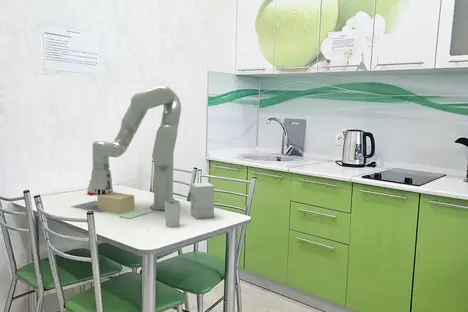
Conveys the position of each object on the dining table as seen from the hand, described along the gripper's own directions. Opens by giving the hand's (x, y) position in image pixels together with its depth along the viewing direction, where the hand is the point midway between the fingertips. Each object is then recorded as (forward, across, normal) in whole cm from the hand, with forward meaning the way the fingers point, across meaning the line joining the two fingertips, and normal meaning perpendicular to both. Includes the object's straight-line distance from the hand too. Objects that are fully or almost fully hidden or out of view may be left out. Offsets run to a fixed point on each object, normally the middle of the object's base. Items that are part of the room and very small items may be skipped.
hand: (101, 203), depth 201 cm
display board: (+2, -7, 0) cm, 7 cm away
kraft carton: (+2, -10, 0) cm, 10 cm away
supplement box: (+2, -50, -14) cm, 52 cm away
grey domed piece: (+3, +26, -24) cm, 35 cm away
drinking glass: (+2, -47, +4) cm, 47 cm away
